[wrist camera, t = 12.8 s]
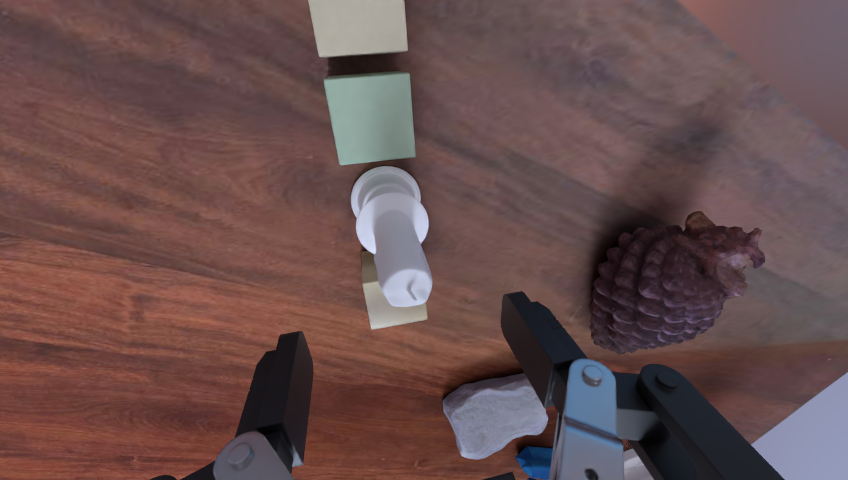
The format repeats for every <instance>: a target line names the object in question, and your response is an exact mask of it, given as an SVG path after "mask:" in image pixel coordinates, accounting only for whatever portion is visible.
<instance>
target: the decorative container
mask: <svg viewBox="0 0 848 480" xmlns="http://www.w3.org/2000/svg"><path fill="white" fill-rule="evenodd" d="M623 453H624V479H625V480H654V479H653V478H652V476H651V475H650V473H649V472H648V470H647V469H646V467H645V466H644V464H643V463H642V461H641V460H640V458H639V457H638V455H637V454H636V452H635V451H634V449H633V448H632V449H630V450H627V451H625V452H623Z"/></svg>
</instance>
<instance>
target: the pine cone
mask: <svg viewBox="0 0 848 480" xmlns="http://www.w3.org/2000/svg"><path fill="white" fill-rule="evenodd" d="M685 227H686V229H685V230H684V231H682V228H681V227H680V226H679V225H673V226H669V227H665V226H663V225H659V226H655V227H653V228H652V229H650V230H648V229H646V228H645V227H644V228H638V229H637V230H635V231H634V233H633V234H632V235H631V234H629V233H623V234H622V235H621V236H620V237H619V239H618V242H619V245H618V247H615V248H610V249H609V250H608V251H607V253H606V254H607V257H608V261H606V262H604V263H601V264H599V266H598V269H597V270H598V272H599V274H600V277H599V278H598V279H596V280H595V281H594V286H595V289H594V291H593V293H592V295H593V302H592V304H591V305H590V312H591V314H592V316H591V320H590V323H591V325H590V330H591V338H592V339H593V340H594V343H595V345H600V346H601V347H602V348H604V349H606V348H608V349H609V350H611V351H615V352H616V353H618V354H623V353H625V352H626V351H627V352H630V353H632V352H635V351H636V350H638V349H648V348H651V349H655V348H656V347H663V346H666V345H669V344H671V343H678V344H680V343H682V342H683V341H684V340H685V341H687V340H691V339H694V338H695V337H696V335H698V334H701V333H704V332H705V331H706V330H707V328H710V327H712V326H713V325H714V321H715V319H716V318H718V317H719V316H720V314H721V310H722V309H723V303H724V301H725V300H726V299H729V298H732V297H737V296H743V294H744V292H745V291H746V288H747V284H746V283H745V280H746V278H745V275H744V274H743V273H742V271H743V270H744V269H745V267H746V266H750V267H754V268H755V269H756V268H759V267H760V266H761V265H762V264H763V263H764V262H765V256H764V253H763V252H761V251H760V249H759V247H758V239H759V237H760V235H761V232H762V230H760V229H758V228H754V230H753V231H752V232H750V233H745V232H743V230H742V228H741V227H730V228H727V227H725V226H716V225H715V224H714V223H713V222H712V221H711V220H709V219H708V218H707V217H706V216H705V215H704V214H703V213H702V211H698V212H693V213H691V214H690V215H688V217H687V219H686V222H685Z"/></svg>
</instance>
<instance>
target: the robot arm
mask: <svg viewBox="0 0 848 480" xmlns="http://www.w3.org/2000/svg"><path fill="white" fill-rule="evenodd" d="M501 328H502V332H503V335H504V337H505V339H506V341H507V342H508V344H509V346H510V348H511V350H512V351H513V353H514V355H515V357H516V359H517V360H518V362H519V364H520V366H521V368H522V369H523V371H524V373H525V375H526V377H527V378H528V380H529V382H530V384H531V386H532V387H533V389H534V391H535V393H536V394H537V396H538V398H539V400H540V402H541V403H542V405H543V407H544V408H547V407H551V406H555V408H556V409H557V411H558V417H557V424H556V432H555V439H554V447H553V454H552V462H551V468H550V474H549V479H548V480H625V479H624V453H623V443H622V440H621V439H627V440H628V442H629V443H630V445H631V446H632V448H633V449H634V451H635V452H636V454H637V455H638V457H639V458H640V460H641V461H642V463H643V464H644V466H645V467H646V469H647V470H648V472H649V473H650V475H651V476H652V478H653V479H654V480H784V479H783V478H782V477H781V476H780V475H779V473H778V472H777V471H776V470H775V469H774V468H773V467H772V466H771V465H770V464H769V463H768V462H767V461H766V460H765V459H764V458H763V457H762V456H761V455H760V454H759V453H758V452H757V451H756V450H755V449H754V448H753V447H752V446H751V445H750V444H749V443H748V442H747V441H746V440H745V439H744V438H743V437H742V436H741V435H740V433H739V432H738V431H737V430H736V429H735V428H734V427H733V426H732V425H731V424H730V423H729V422H728V421H727V420H726V419H725V418H724V417H723V416H722V415H721V414H720V413H719V412H718V411H717V410H716V409H715V408H714V407H713V406H712V405H711V404H710V403H709V402H708V401H707V400H706V399H705V398H704V397H703V396H702V395H701V393H700V392H699V391H698V390H697V389H696V388H695V387H694V386H693V385H692V384H691V383H690V382H689V381H688V380H687V379H686V378H685V377H684V376H683V375H681V374H680V373H679V372H677V371H675V370H674V369H672V368H669V367H667V366H664V365H660V364H649V365H646V366H644V367H643V368H642V369H641V372H640V374H630V373H618V372H612V371H610V370H609V369H608V368H607V367H606V366H605V365H603V364H601V363H600V362H597V361H595V360H592V359H588V358H587V357H586V355H585V354H584V353H583V352H582V350H581V349H580V348H579V347H578V345H577V344H576V343H575V342H574V340H573V339H572V338H571V337H570V335H569V334H568V333H567V332H566V330H565V329H564V328H562V325H561V324H560V323H559V321H558V320H556V318H555V316H554V315H553V314H552V313H551V311H550V310H549V309H548V308H546V307H545V306H543V305H542V304H540V303H539V302H537V301H536V302H531V301H530V300H529V299H528V297H527V296H526V295H525V293H524V292H522V291H520V292H515V293H509V294H504V295H503V300H502V313H501ZM312 382H313V361H312V357H311V354H310V351H309V348H308V345H307V342H306V339H305V336H304V334H303V332H302V331H298V332H292V333H287V334H281V335H280V337H279V340H278V344H277V348H276V350H273V351H268V352H266V353H265V355H264V356H263V357H262V359H261V360H260V361H259V363H258V364H257V366H256V370H255V373H254V376H253V380H252V383H251V386H250V391H249V393H248V396H247V400H246V403H245V406H244V409H243V413H242V416H241V419H240V423H239V426H238V429H237V433H236V435H235V438H234V439H232V440H231V441H230V442H229V443H227V444H226V446H225V447H224V448H223V449H222V450H221V451H220V453H219V455H218V456H217V458H216V460H215V461H213V462H212V463H211V464H209V465H207V466H205V467H203V468H202V469H200V470H198V471H196V472H194V473H192V474H190V475H188V476H186V477H185V478H183V479H181V480H295V479H294V478H293V476H292V475H291V472H292V467H296V466H300V465H303V460H304V451H305V442H306V434H307V425H308V416H309V408H310V399H311V390H312ZM618 438H619V439H618ZM150 480H176V479H175V478H174V477H173V476H170V475H162V476H158V477H155V478H152V479H150ZM484 480H515V477H514V475H513V472H510V473H506V474H502V475H499V476H495V477H491V478H487V479H484Z"/></svg>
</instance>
